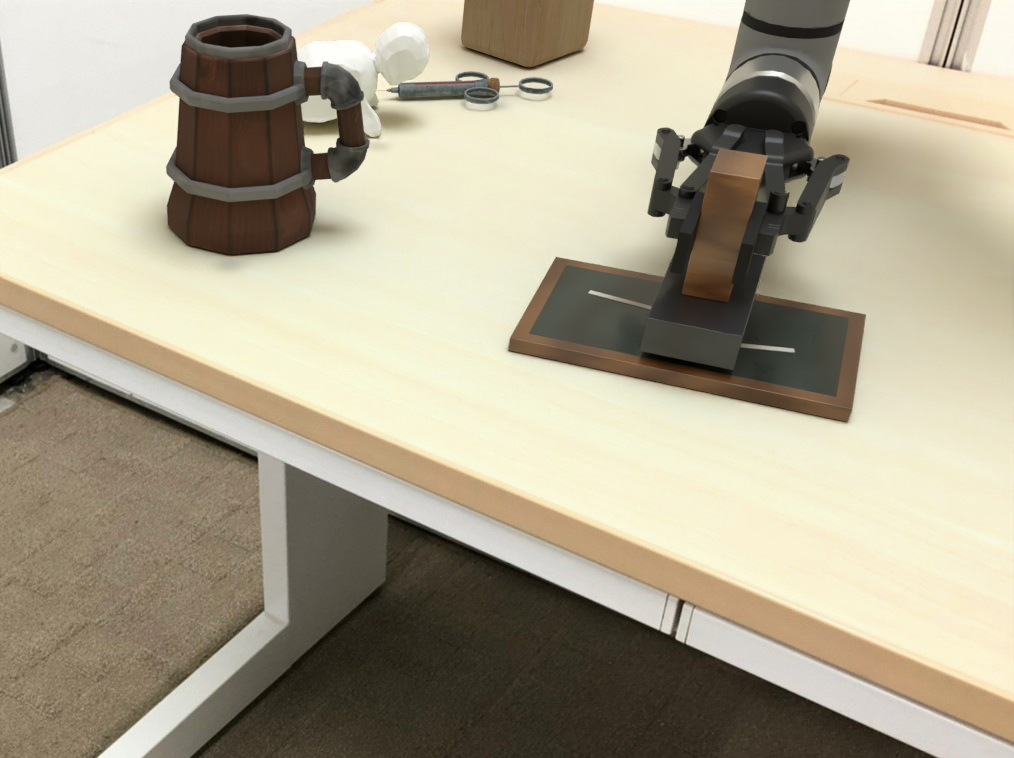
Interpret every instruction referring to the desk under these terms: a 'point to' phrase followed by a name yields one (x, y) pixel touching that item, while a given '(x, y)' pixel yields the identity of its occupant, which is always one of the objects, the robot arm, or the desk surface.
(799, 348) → the chalkboard
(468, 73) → the syringe
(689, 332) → the eraser
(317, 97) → the white animal figurine
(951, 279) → the desk surface
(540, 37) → the wooden block
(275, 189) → the mug
